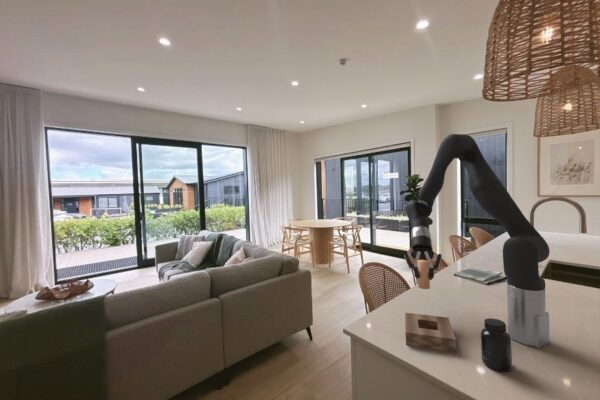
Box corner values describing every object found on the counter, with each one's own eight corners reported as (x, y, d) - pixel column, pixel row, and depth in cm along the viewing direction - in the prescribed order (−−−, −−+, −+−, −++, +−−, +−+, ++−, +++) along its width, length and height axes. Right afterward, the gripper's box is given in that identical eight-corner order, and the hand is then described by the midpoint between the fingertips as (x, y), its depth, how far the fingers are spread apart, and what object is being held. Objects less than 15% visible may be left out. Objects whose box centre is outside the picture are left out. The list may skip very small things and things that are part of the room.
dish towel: (452, 276, 145) (452, 270, 145) (472, 270, 153) (472, 265, 153) (488, 286, 128) (488, 280, 128) (509, 279, 136) (509, 273, 136)
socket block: (448, 328, 92) (448, 317, 92) (456, 352, 79) (455, 339, 79) (405, 323, 98) (405, 312, 97) (406, 344, 84) (405, 332, 84)
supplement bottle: (498, 355, 77) (497, 315, 76) (518, 372, 70) (518, 327, 70) (475, 357, 77) (474, 317, 76) (493, 373, 70) (492, 329, 69)
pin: (432, 287, 99) (431, 261, 99) (424, 289, 98) (423, 263, 97) (423, 284, 103) (422, 259, 103) (416, 286, 101) (415, 260, 101)
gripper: (402, 234, 109) (403, 272, 98) (441, 234, 104) (446, 275, 93) (402, 244, 114) (404, 281, 103) (439, 245, 109) (445, 284, 98)
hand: (424, 278), depth 98 cm, fingers closed on pin, 4 cm apart
